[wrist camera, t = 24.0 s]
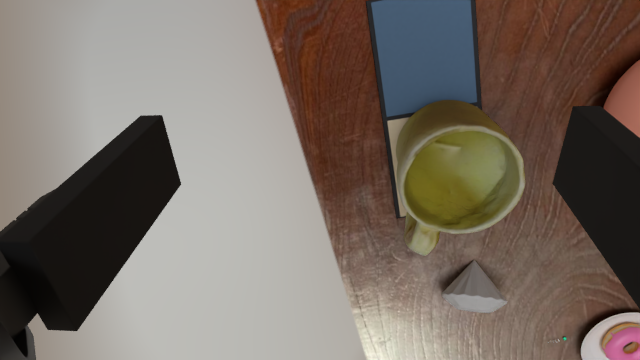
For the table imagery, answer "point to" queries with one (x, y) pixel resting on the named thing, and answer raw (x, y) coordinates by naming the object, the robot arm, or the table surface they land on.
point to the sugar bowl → (626, 99)
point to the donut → (613, 339)
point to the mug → (455, 173)
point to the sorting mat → (423, 58)
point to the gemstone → (474, 291)
